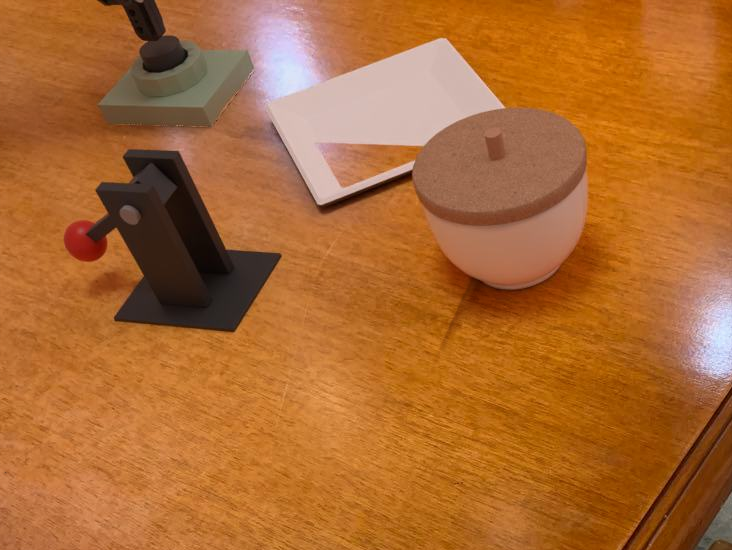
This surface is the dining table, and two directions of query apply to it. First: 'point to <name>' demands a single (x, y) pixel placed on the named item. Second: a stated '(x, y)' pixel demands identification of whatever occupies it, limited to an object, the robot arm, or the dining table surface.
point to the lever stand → (180, 252)
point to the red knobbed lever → (110, 220)
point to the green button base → (178, 89)
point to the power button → (162, 54)
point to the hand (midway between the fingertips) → (153, 37)
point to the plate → (378, 112)
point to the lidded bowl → (505, 194)
